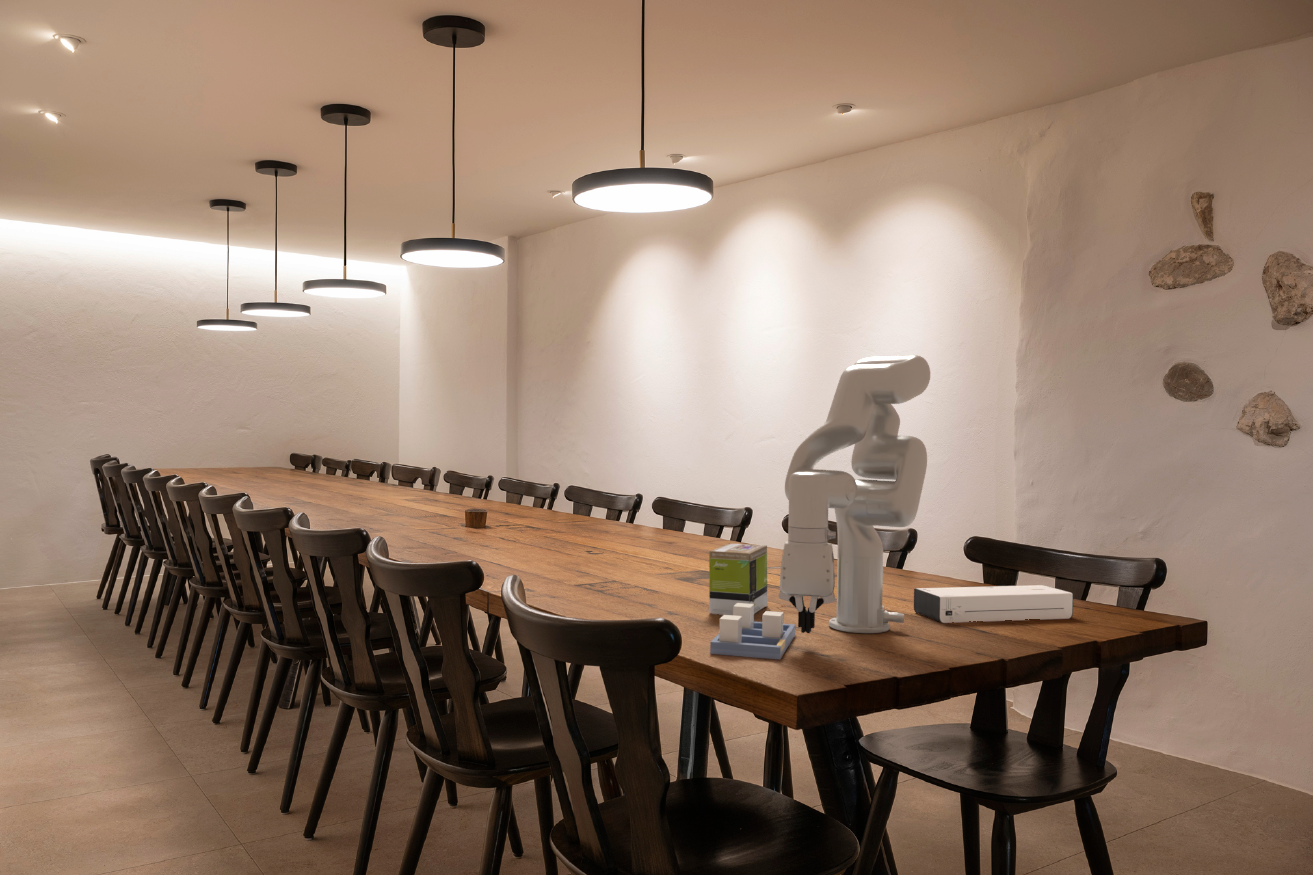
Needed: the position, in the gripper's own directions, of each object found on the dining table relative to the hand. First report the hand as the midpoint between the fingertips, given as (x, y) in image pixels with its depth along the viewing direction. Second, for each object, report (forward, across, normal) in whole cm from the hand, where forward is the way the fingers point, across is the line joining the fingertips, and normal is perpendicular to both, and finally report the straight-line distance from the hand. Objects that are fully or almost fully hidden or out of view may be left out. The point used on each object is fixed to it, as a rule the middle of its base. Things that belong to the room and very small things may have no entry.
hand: (806, 631), depth 173 cm
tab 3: (+2, +6, 0) cm, 7 cm away
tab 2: (+2, +13, -7) cm, 15 cm away
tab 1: (+2, +13, +6) cm, 15 cm away
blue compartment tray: (+3, +10, 0) cm, 10 cm away
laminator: (+4, -38, -46) cm, 60 cm away
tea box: (+4, +19, -33) cm, 38 cm away
